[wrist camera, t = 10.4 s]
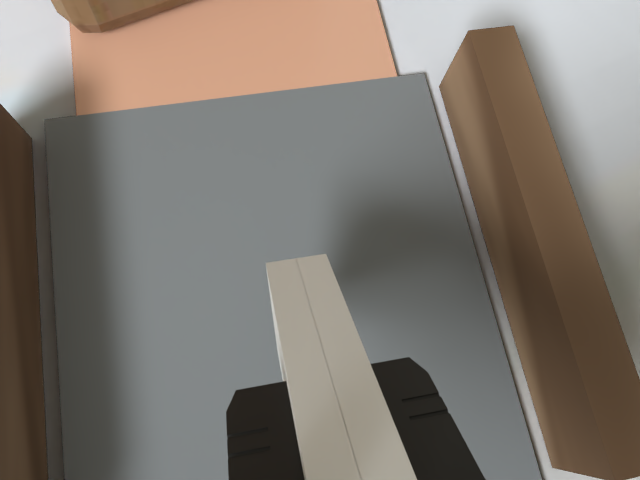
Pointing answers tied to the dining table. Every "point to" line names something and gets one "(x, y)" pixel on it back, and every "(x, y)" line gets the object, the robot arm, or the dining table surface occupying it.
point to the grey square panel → (258, 268)
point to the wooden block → (109, 12)
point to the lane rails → (503, 247)
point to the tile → (228, 52)
